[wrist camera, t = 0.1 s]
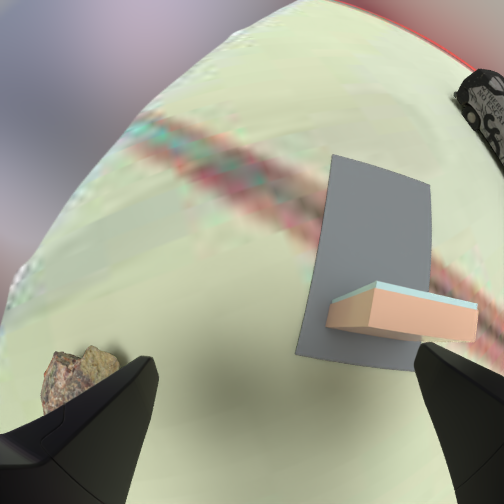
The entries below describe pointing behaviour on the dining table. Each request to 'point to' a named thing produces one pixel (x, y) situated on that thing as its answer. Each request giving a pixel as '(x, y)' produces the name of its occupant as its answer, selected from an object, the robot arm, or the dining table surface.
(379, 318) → the block
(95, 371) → the rock
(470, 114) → the toy car
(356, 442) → the dining table surface
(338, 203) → the mat
